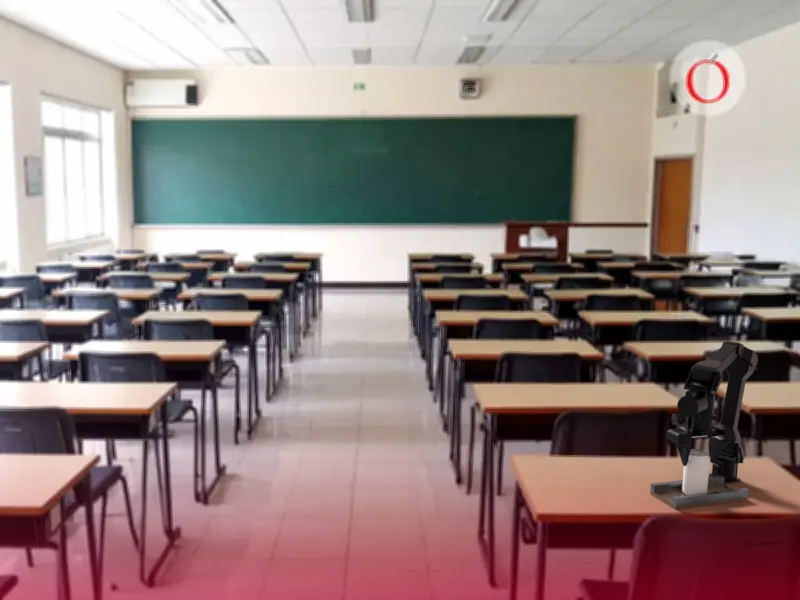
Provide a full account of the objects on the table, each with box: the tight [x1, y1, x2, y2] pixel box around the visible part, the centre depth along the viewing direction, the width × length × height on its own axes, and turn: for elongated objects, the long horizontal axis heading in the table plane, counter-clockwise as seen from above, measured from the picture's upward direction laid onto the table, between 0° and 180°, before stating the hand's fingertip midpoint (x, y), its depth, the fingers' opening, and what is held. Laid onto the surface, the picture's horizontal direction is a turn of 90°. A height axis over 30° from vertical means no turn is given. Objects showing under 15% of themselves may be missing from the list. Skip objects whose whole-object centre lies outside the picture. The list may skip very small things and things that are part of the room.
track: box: [649, 476, 750, 510], centre depth 210 cm, size 24×11×3 cm, turn 108°
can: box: [682, 448, 710, 495], centre depth 209 cm, size 6×6×12 cm
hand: (698, 464), depth 209 cm, fingers open, 9 cm apart
